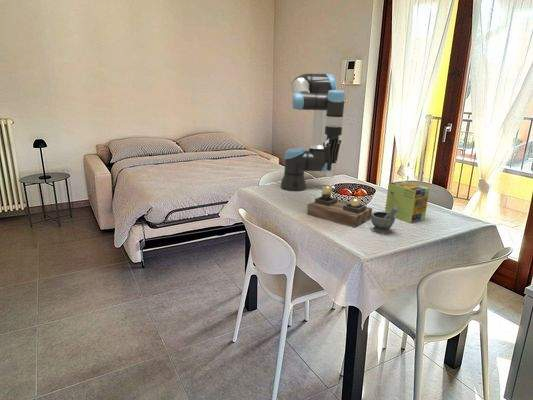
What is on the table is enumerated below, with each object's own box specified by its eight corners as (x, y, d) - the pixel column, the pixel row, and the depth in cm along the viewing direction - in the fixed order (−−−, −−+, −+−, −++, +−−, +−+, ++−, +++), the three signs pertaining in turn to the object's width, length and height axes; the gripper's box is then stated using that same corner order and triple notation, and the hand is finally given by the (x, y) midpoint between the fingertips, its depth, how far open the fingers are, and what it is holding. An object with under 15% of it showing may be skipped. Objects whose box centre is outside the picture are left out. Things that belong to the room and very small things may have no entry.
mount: (324, 206, 191) (325, 193, 189) (371, 218, 176) (372, 204, 174) (307, 214, 179) (308, 200, 177) (355, 227, 164) (356, 212, 162)
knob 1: (324, 194, 183) (325, 184, 181) (332, 196, 180) (333, 186, 179) (319, 196, 179) (320, 186, 178) (328, 198, 177) (328, 187, 175)
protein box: (411, 223, 171) (416, 190, 167) (384, 213, 183) (388, 182, 179) (425, 219, 177) (430, 187, 172) (398, 210, 189) (402, 180, 184)
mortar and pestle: (365, 229, 162) (368, 203, 159) (377, 224, 169) (380, 199, 165) (389, 237, 155) (392, 209, 151) (400, 232, 161) (404, 205, 157)
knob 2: (352, 207, 175) (353, 197, 173) (361, 209, 172) (362, 199, 170) (347, 209, 171) (348, 199, 170) (356, 211, 169) (357, 201, 167)
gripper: (333, 124, 176) (329, 173, 184) (318, 126, 167) (315, 178, 174) (348, 125, 172) (343, 175, 179) (333, 128, 162) (329, 181, 170)
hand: (329, 176), depth 177 cm, fingers closed
